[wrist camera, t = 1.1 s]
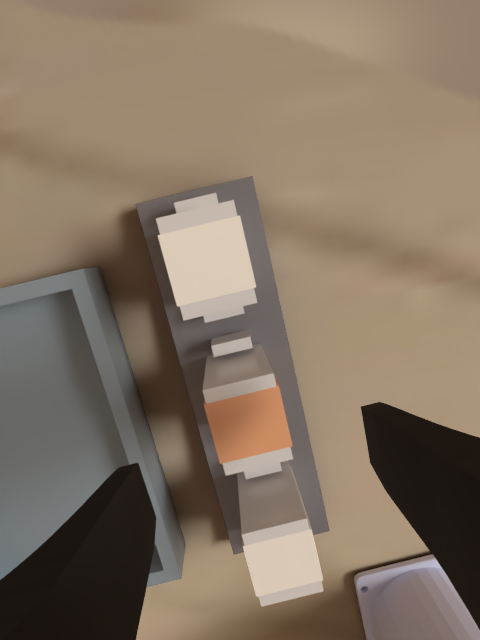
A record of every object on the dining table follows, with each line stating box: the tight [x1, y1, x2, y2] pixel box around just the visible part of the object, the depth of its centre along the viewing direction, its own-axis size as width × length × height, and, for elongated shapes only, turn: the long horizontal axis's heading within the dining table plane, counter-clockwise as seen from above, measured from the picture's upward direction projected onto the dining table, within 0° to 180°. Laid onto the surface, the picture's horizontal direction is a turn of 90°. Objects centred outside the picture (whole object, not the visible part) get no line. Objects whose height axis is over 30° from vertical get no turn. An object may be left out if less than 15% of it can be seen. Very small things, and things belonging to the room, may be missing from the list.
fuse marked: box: [202, 343, 293, 476], centre depth 18 cm, size 4×3×5 cm
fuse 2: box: [237, 461, 324, 607], centre depth 19 cm, size 4×3×5 cm
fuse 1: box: [156, 200, 257, 321], centre depth 17 cm, size 4×3×5 cm
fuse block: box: [136, 176, 329, 554], centre depth 20 cm, size 21×6×3 cm, turn 13°
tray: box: [0, 267, 185, 587], centre depth 20 cm, size 18×12×2 cm, turn 13°
